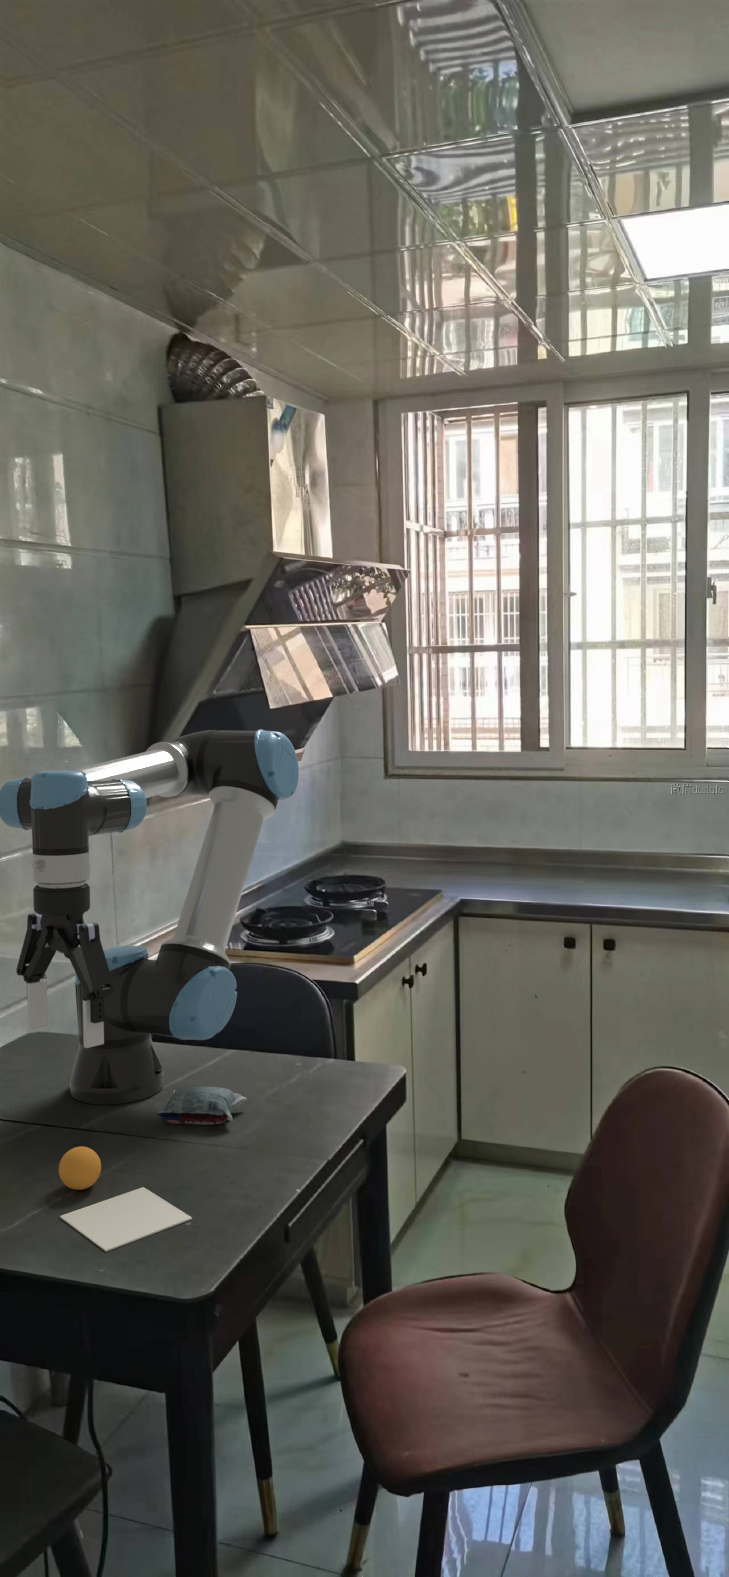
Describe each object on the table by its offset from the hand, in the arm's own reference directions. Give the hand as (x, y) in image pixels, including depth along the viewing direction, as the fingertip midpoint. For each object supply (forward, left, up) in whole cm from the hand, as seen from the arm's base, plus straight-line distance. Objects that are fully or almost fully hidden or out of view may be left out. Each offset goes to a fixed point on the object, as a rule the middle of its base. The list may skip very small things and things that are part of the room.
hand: (65, 1036), depth 163 cm
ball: (+7, -2, -16) cm, 18 cm away
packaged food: (-2, +23, -19) cm, 30 cm away
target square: (+19, -2, -19) cm, 27 cm away
